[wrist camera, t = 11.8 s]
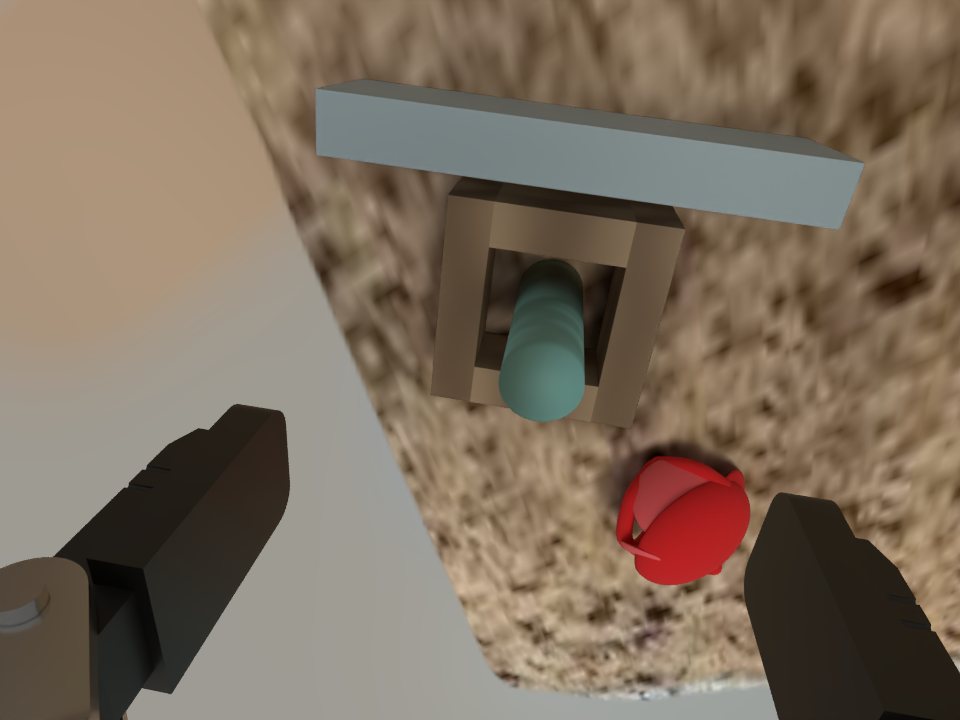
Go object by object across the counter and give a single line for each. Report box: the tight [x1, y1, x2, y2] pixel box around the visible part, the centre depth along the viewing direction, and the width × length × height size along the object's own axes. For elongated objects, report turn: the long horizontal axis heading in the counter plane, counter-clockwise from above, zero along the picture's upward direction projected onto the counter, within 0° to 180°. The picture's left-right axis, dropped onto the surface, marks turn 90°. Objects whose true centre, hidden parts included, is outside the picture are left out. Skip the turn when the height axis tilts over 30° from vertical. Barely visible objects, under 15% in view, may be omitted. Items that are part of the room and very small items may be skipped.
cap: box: [616, 456, 750, 585], centre depth 34 cm, size 8×6×6 cm
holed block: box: [431, 176, 685, 429], centre depth 30 cm, size 10×10×4 cm
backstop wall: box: [315, 79, 865, 230], centre depth 26 cm, size 20×2×6 cm, turn 84°
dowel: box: [498, 259, 585, 422], centre depth 28 cm, size 3×3×10 cm
